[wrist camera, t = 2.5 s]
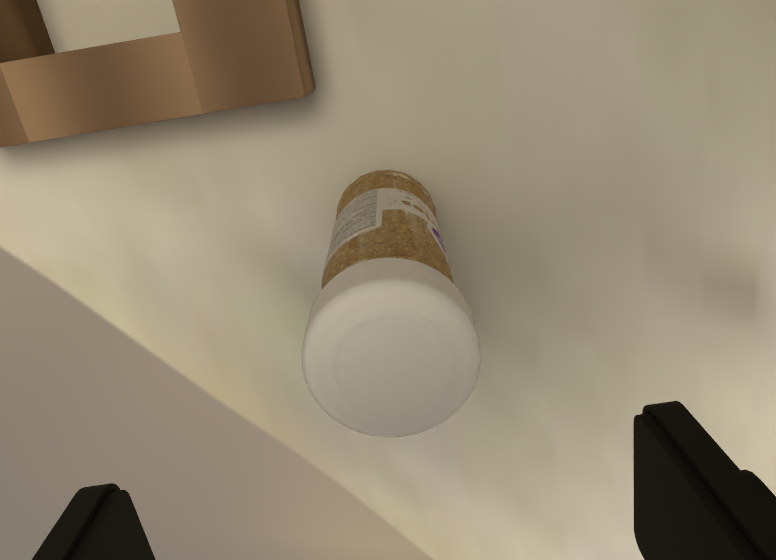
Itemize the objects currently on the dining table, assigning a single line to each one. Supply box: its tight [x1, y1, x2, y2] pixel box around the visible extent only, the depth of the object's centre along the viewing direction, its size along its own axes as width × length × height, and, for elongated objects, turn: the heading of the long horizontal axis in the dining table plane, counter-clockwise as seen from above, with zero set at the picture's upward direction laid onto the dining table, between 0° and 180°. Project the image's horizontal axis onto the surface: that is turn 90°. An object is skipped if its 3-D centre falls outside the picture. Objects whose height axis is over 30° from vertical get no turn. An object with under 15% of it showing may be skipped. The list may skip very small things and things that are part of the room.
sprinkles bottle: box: [302, 171, 480, 437], centre depth 21 cm, size 5×5×14 cm
